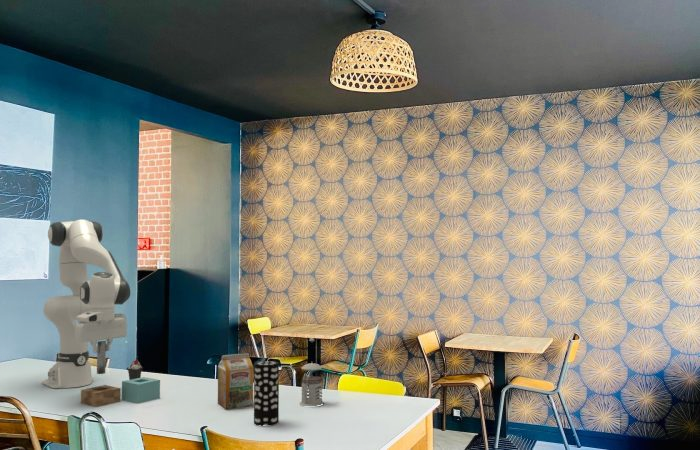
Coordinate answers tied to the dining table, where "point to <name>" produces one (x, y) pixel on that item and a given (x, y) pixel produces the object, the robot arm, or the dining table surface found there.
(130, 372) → the sundae
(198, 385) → the dining table surface
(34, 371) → the dining table surface
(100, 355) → the peg
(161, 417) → the dining table surface
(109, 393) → the socket
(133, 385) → the teal storage box
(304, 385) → the french press
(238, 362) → the milk carton
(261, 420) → the spotted tube
